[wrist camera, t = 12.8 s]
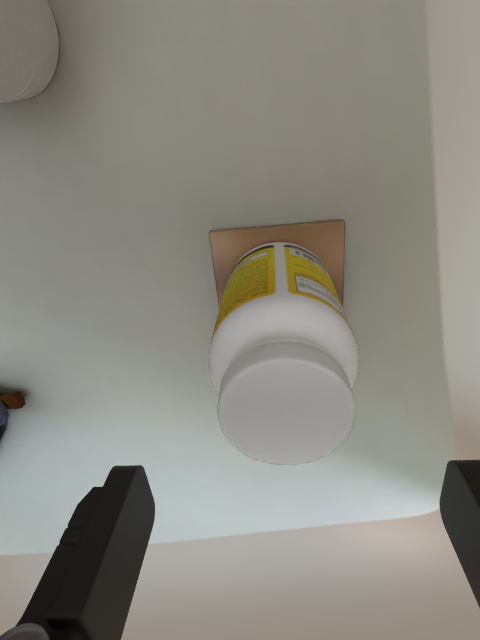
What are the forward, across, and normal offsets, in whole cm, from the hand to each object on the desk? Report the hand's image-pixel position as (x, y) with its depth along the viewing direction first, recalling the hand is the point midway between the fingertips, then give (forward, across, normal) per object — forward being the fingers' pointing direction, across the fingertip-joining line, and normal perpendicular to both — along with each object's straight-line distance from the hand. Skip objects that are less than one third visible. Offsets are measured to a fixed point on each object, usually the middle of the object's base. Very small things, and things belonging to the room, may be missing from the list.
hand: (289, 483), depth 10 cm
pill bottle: (+14, 0, 0) cm, 14 cm away
